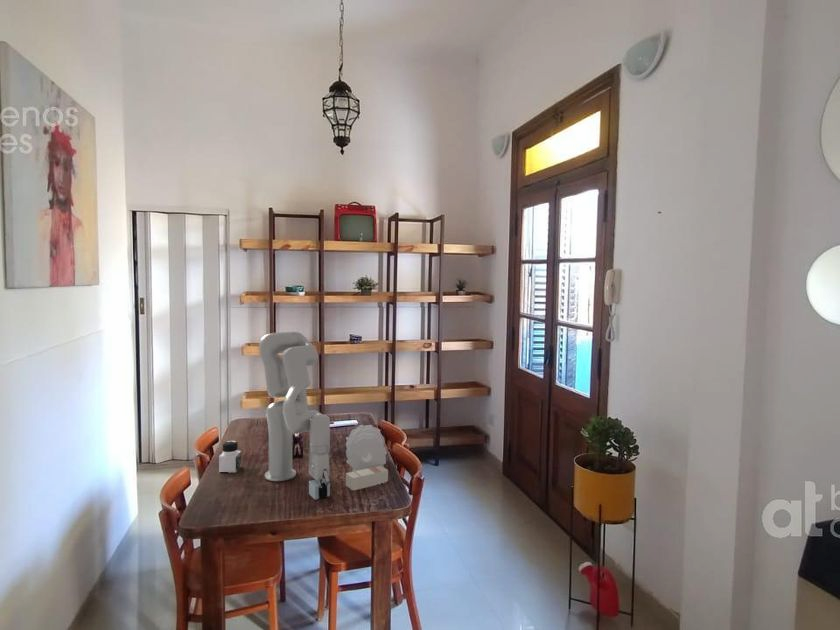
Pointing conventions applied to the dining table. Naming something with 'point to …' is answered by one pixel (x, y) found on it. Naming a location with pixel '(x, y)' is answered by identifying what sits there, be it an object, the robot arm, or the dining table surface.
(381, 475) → the block
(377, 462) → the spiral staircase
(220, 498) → the dining table surface
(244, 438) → the dining table surface
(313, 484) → the grey box
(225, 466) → the medicine bottle
